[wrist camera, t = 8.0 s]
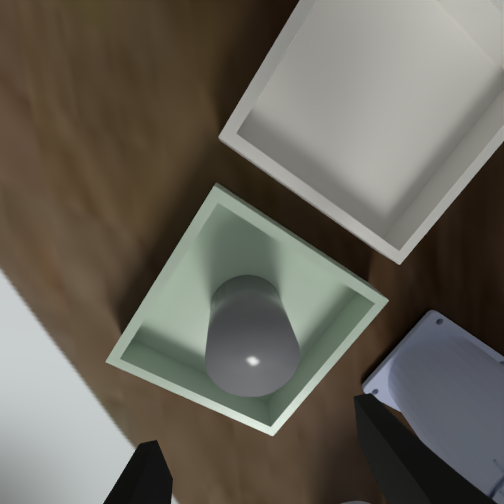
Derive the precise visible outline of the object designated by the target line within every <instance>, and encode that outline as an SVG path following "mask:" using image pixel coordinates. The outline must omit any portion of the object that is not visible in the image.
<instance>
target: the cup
mask: <svg viewBox="0 0 504 504" xmlns="http://www.w3.org/2000/svg"><path fill="white" fill-rule="evenodd" d="M341 504H371V503H368V502H364V501H349V502H344V503H341Z"/></svg>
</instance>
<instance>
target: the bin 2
mask: <svg viewBox="0 0 504 504" xmlns="http://www.w3.org/2000/svg"><path fill="white" fill-rule="evenodd" d="M240 275H254V276H259V277H261V278H264V279H266V280H267V281H269V282H270V283H271V284H272V285H273V286H274V287H275V288H276V289H277V291H278V293H279V295H280V298H281V300H282V303H283V305H284V308H285V311H286V313H287V316H288V318H289V321H290V323H291V326H292V328H293V331H294V334H295V336H296V339H297V341H298V344H299V348H300V361H299V365H298V368H297V370H296V372H295V374H294V375H293V376H292V378H291V379H290V380H289V381H288V382H287V383H286V384H285V385H284V386H283V387H281V388H279V389H278V390H276V391H274V392H272V393H269V394H267V395H263V396H258V397H241V396H236V395H232V394H230V393H227V392H225V391H223V390H222V389H220V388H219V387H218V386H217V385H216V384H215V383H213V381H212V380H211V379H210V377H209V375H208V373H207V370H206V367H205V351H206V342H207V333H208V324H209V315H210V307H211V301H212V297H213V295H214V293H215V292H216V290H217V289H218V288H219V286H221V285H222V284H223V283H224V282H225V281H227V280H229V279H231V278H233V277H236V276H240ZM388 301H389V300H388V299H387V298H386V297H384V296H383V295H382V294H381V293H380V292H379V291H378V290H376V289H375V288H374V287H373V286H372V285H371V284H370V283H368V282H367V281H365V280H364V279H362V278H361V277H359V276H358V275H356V274H355V273H353V272H352V271H350V270H349V269H347V268H346V267H344V266H343V265H341V264H340V263H338V262H337V261H335V260H334V259H332V258H331V257H329V256H328V255H326V254H325V253H323V252H322V251H320V250H319V249H317V248H315V247H314V246H312V245H311V244H309V243H308V242H306V241H305V240H303V239H302V238H300V237H299V236H297V235H296V234H294V233H293V232H291V231H290V230H288V229H287V228H285V227H284V226H282V225H281V224H279V223H278V222H276V221H275V220H273V219H272V218H270V217H269V216H267V215H266V214H264V213H263V212H261V211H260V210H258V209H257V208H255V207H254V206H252V205H251V204H249V203H248V202H246V201H244V200H243V199H241V198H240V197H238V196H237V195H235V194H234V193H232V192H231V191H229V190H228V189H226V188H225V187H223V186H222V185H220V184H219V183H217V182H216V183H215V185H214V186H213V188H212V190H211V191H210V193H209V195H208V196H207V198H206V199H205V201H204V203H203V204H202V206H201V208H200V209H199V211H198V212H197V214H196V216H195V217H194V219H193V220H192V222H191V224H190V225H189V227H188V229H187V230H186V232H185V233H184V235H183V237H182V238H181V240H180V242H179V243H178V245H177V246H176V248H175V250H174V251H173V253H172V255H171V256H170V258H169V259H168V261H167V263H166V264H165V266H164V268H163V269H162V271H161V272H160V274H159V276H158V277H157V279H156V280H155V282H154V284H153V285H152V287H151V289H150V290H149V292H148V293H147V295H146V297H145V298H144V300H143V302H142V303H141V305H140V306H139V308H138V310H137V311H136V313H135V315H134V316H133V318H132V319H131V321H130V323H129V324H128V326H127V328H126V329H125V331H124V332H123V334H122V336H121V337H120V339H119V341H118V342H117V344H116V345H115V347H114V349H113V350H112V352H111V354H110V355H109V357H108V358H107V360H106V363H109V364H111V365H113V366H115V367H118V368H120V369H122V370H125V371H127V372H129V373H131V374H134V375H136V376H138V377H140V378H143V379H145V380H147V381H149V382H152V383H154V384H156V385H158V386H161V387H163V388H165V389H167V390H170V391H172V392H174V393H176V394H179V395H181V396H183V397H185V398H188V399H190V400H192V401H194V402H197V403H199V404H201V405H203V406H206V407H208V408H210V409H213V410H215V411H217V412H219V413H222V414H224V415H226V416H228V417H231V418H233V419H235V420H237V421H240V422H242V423H244V424H246V425H249V426H251V427H253V428H255V429H258V430H260V431H262V432H264V433H267V434H269V435H271V436H274V434H275V433H276V432H277V431H278V430H279V429H280V427H281V426H282V425H283V424H284V423H285V422H286V420H287V419H288V418H289V417H290V416H291V415H292V413H293V412H294V411H295V410H296V409H297V408H298V406H299V405H300V404H301V403H302V402H303V401H304V399H305V398H306V397H307V396H308V395H309V394H310V392H311V391H312V390H313V389H314V388H315V387H316V385H317V384H318V383H319V382H320V381H321V380H322V378H323V377H324V376H325V375H326V374H327V373H328V371H329V370H330V369H331V368H332V367H333V366H334V364H335V363H336V362H337V361H338V360H339V358H340V357H341V356H342V355H343V354H344V353H345V351H346V350H347V349H348V348H349V347H350V346H351V344H352V343H353V342H354V341H355V340H356V339H357V337H358V336H359V335H360V334H361V333H362V332H363V330H364V329H365V328H366V327H367V326H368V325H369V323H370V322H371V321H372V320H373V319H374V318H375V316H376V315H377V314H378V313H379V312H380V311H381V309H382V308H383V307H384V306H385V305H386V304H387V302H388Z"/></svg>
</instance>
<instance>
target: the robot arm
mask: <svg viewBox="0 0 504 504" xmlns="http://www.w3.org/2000/svg"><path fill="white" fill-rule="evenodd" d="M438 319H439V320H438ZM437 320H438V321H437ZM436 321H437V322H436ZM362 389H363V391H364V392H365V393H366V394H363V395H358V396H354V402H355V412H356V421H357V431H358V439H359V441H360V444H361V446H362V449H363V451H364V454H365V456H366V459H367V461H368V464H369V466H370V468H371V471H372V473H373V475H374V477H375V479H376V481H377V483H378V485H379V487H380V489H381V491H382V493H383V495H384V497H385V499H386V501H387V502H388V504H504V357H503V356H502V355H500V354H499V353H498V352H496V351H495V350H493V349H492V348H490V347H489V346H487V345H486V344H484V343H483V342H481V341H480V340H479V339H477V338H476V337H474V336H473V335H471V334H470V333H468V332H467V331H465V330H464V329H462V328H461V327H459V326H458V325H457V324H455V323H454V322H452V321H451V320H449V319H448V318H446V317H445V316H443V315H442V314H440V313H439V312H437V311H436V310H430V311H428V312H427V313H426V314H425V315H424V316H423V317H422V319H421V320H420V321H419V322H418V323H417V324H416V325H415V326H414V327H413V329H412V330H411V331H410V332H409V333H408V334H407V335H406V336H405V337H404V339H403V340H402V341H401V342H400V343H399V344H398V345H397V346H396V347H395V348H394V350H393V351H392V352H391V353H390V354H389V355H388V356H387V357H386V358H385V360H384V361H383V362H382V363H381V364H380V365H379V366H378V367H377V368H376V369H375V371H374V372H373V373H372V374H371V375H370V376H369V377H368V378H367V379H366V381H365V382H364V383H363V384H362ZM374 389H375V390H374ZM380 401H381V402H383V403H385V404H387V405H388V406H390V407H392V408H394V409H396V410H398V411H400V412H401V413H402V414H403V415H404V417H405V418H406V420H407V421H408V422H409V424H410V425H411V427H412V428H413V430H414V431H415V433H416V434H417V436H418V437H419V438H420V439H418V438H417V437H416V436H415V435H414V434H413V433H412V432H411V431H410V430H409V429H408V428H406V427H405V426H404V425H403V424H402V423H401V422H400V421H399V420H398V419H397V418H396V417H395V416H394V415H393V414H392V413H391V412H390V411H389V410H388V409H387V408H386V407H385V406H384V405H383V404H382V403H381V402H380ZM172 485H173V478H172V476H171V473H170V471H169V468H168V466H167V464H166V461H165V459H164V456H163V454H162V452H161V449H160V447H159V444H158V442H157V440H154V441H150V442H145V443H141V444H139V446H138V447H137V449H136V450H135V452H134V454H133V456H132V457H131V459H130V461H129V462H128V464H127V466H126V467H125V469H124V471H123V472H122V474H121V475H120V477H119V479H118V480H117V482H116V484H115V485H114V487H113V489H112V491H111V492H110V494H109V495H108V497H107V498H106V500H105V501H104V503H103V504H171V497H172Z"/></svg>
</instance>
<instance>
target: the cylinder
mask: <svg viewBox="0 0 504 504" xmlns="http://www.w3.org/2000/svg"><path fill="white" fill-rule="evenodd" d="M299 361H300V348H299V344H298V341H297V339H296V336H295V334H294V331H293V328H292V326H291V323H290V321H289V318H288V316H287V313H286V311H285V308H284V305H283V303H282V300H281V298H280V295H279V293H278V291H277V289H276V288H275V287H274V286H273V285H272V284H271V283H270V282H269V281H267V280H266V279H264V278H261V277H259V276H254V275H240V276H236V277H233V278H231V279H229V280H227V281H225V282H224V283H223V284H222V285H221V286H219V288H218V289H217V290H216V292H215V293H214V295H213V297H212V301H211V307H210V315H209V324H208V333H207V342H206V351H205V367H206V370H207V373H208V375H209V377H210V379H211V380H212V381H213V383H215V384H216V385H217V386H218V387H219V388H220V389H222V390H223V391H225V392H227V393H230V394H232V395H236V396H241V397H258V396H263V395H267V394H269V393H272V392H274V391H276V390H278V389H279V388H281V387H283V386H284V385H285V384H286V383H287V382H288V381H289V380H290V379H291V378H292V376H293V375H294V374H295V372H296V370H297V368H298V365H299Z"/></svg>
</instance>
